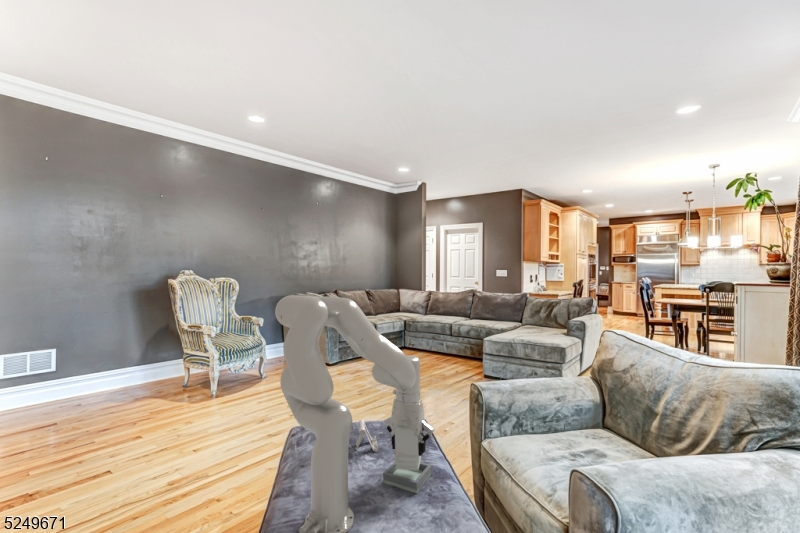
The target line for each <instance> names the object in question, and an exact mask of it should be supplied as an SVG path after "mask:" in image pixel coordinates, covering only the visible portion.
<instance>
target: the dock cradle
mask: <svg viewBox="0 0 800 533" xmlns="http://www.w3.org/2000/svg"><path fill="white" fill-rule="evenodd" d="M432 473H433V465H432V464H428V463H425V462H421V461H420V465H419V469H418V471H415V470H404V469H396V465H395V461H394V462H393V463H391V464H390V466H388V468H387V469H385V471H384V472H382V483H383V484H385V485H388V486H392V487H396V488H399V489H402V490H405V491H407V492H412V493H414V494H418V493H419V491H420V490H421V489H422V488H423V486H424V485H425V484H426V482H427V481H428V480H429V479H430V477H431V476H432Z"/></svg>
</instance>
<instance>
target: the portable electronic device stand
mask: <svg viewBox="0 0 800 533" xmlns="http://www.w3.org/2000/svg"><path fill="white" fill-rule="evenodd" d="M358 428H359V429H358V430H359V436H358V438H357V440H356V442H355V447H356V448H355V451H358V448H359V446H360V444H361V441H362V439H363V436H366V437H367V440H368V442H369V444H370V446H371V449H372V451H373V452H378V451H379V446H378V442H377V435H374V437H372V436H371V434H370V432H369V430H368V428H367V425H366V423H365V421H364V420H363V419H359V420H358Z"/></svg>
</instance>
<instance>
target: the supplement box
mask: <svg viewBox="0 0 800 533" xmlns="http://www.w3.org/2000/svg"><path fill="white" fill-rule="evenodd" d="M419 442H420V441H419V439H418V436H414V430H411V429H407V428H402V427H397V426H396V427H395V449H394V452H395V453H394V455H395V457H394V459H395V460H394V462H395V465H396V469H404V470H415V471H418V469H419V465H420V462H421V460H422V455H421V456H419V449H418V444H419Z"/></svg>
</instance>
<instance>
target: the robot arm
mask: <svg viewBox="0 0 800 533" xmlns="http://www.w3.org/2000/svg"><path fill="white" fill-rule="evenodd" d="M274 310H275V311H274V314H275V318H276V320H277V321H278V322H279V324H280V325H282V326H283V327H286V328H288V332H287V334H286V336H285V339H284V343H283V348H282V349H283V350H282V351H283V357H284V361H285V363H286V365H285V367H284V368H283V370H282V372H281V375H280V379H279V381H280V389H281V392H282V395H283V397H284V398H285V400H286V403H287V405H288V407H289V409H290V411H291V413H292V415H293V418H294V419H295V420H296V421H297V423H298V425H300V426H301V427H303V428H304V429H306V430H307V431H309V432H311V433H312V434H314V435H315V442H314V445H313V447H312V450H311V457H310V462H311V463H310V464H311V465H310V466H311V467H310V468H311V469H310V474H311V475H310V478H311V480H310V511H309V512H308V513H307V515H306V516H305V520H304V524H303V525H301V526H300V527H299V528H298V533H347V532H349V530H351V529H352V527H353V526H354V522H355V514H354V512H353V510H352V509H351V507H349V446H350V437H351V433H352V428H353V416H352V413H351V411H350V409H349V407H348V406H347V405H346V404H344V403H343V402H341V401H338V400H336V399H334V398H332V397H333V394H334V381H333V379H332V377H331V374H330V371H329V369H328V367H327V365H326V362H325V360H324V357H323V355H322V352H321V348H320V339H321V335H322V333H323V330H324V328H325V327H329V328H334V329H335V330H336V331H337V332H338V333H339V335H340V336H341V337H342V338H343V339H344V341H345V342H346V343H347V344H348V346H349V347H350V349H352V351H353V352H355V353H356V354H357V355H358V356H360V357H361V358H363V359H364V360H366V361H369V362H371V363H372V364H373V366H372V368H371V375H372V377H373V379H374V381H376V382H377V383H379V384H381V385H384V386H388V387H391V388H394V389H393V390H392V394H393V395H395V398H394V399H393V403H392V406H391V407H392V408H391V416H390V417H387V418H385V419H384V421H383V423H384V425H385V426H386V430H387V432H389V435H390V437H391V445H392V448H391V449H392V450H395V427H396V426H397V427H402V428H407V429H411V430H414V436H418V439H419V441H420V442H419V444H418V449H419V456H421V457H422V456H423V454H424V453H425V452H426V450H427V449H426V442H427V440H429V439H430V438H431V436H432V434H433V433H434V431H435V429H434V428H433V427H432V426H431V425H430V424H428V423H427V422H426V421H425V420H426V418H425V411H424V410H425V409H424V404H423V401H422V399H421V360H420V358H419V357H418V356H415V355H411V354H410V355H406V354H405V353H404V351H402V350H401V349H400V348H398V346H396V345H395V344H394V343H392V342H391V341H390V339H389V340H388V338H386V337H385V336H384V335H382V334H381V333H380V332H379V331H378V330H377V329H376V328H375V326H374V325H373V324H372V322H371V321H370V319H369V318H368V317H367V316H366V314H365V313H364V311H363V310H362V309H361V308H360V306H359V305H358V304H357V303H356V302H355V301H354V300H353V299H351V298H347V297H340V296H338V297H337V296H316V295H315V296H314V295H313V296H312V295H296V294H290V295H286V296H283V297H282V298H281V299H280V300H279V301H278V302H277V303H276V306H275V309H274ZM425 430H426V432H427V433H426V434H425V432H424V431H425Z"/></svg>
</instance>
